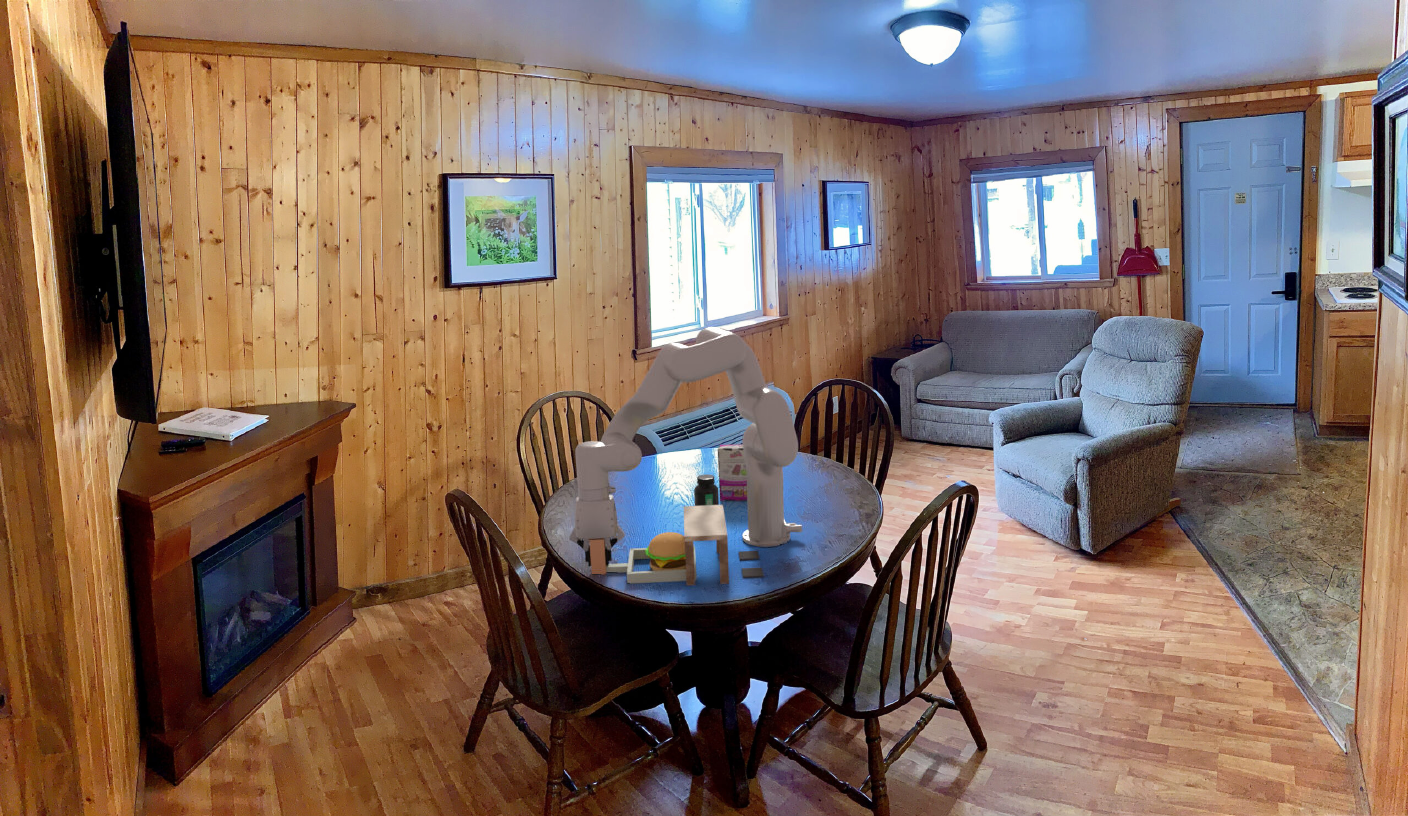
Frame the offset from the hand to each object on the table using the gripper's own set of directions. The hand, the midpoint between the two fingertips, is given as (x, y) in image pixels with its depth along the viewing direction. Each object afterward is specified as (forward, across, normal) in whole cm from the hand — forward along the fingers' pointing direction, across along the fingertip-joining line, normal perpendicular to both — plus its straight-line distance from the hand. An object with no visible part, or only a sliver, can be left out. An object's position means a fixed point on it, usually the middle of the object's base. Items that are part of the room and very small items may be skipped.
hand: (598, 563), depth 231 cm
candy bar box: (+3, -38, -51) cm, 64 cm away
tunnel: (+2, -26, 0) cm, 26 cm away
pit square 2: (+2, -37, +6) cm, 38 cm away
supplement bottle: (+3, -28, -36) cm, 46 cm away
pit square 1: (+2, -37, -6) cm, 38 cm away
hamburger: (+3, -17, -1) cm, 18 cm away
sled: (+2, -11, 0) cm, 11 cm away
